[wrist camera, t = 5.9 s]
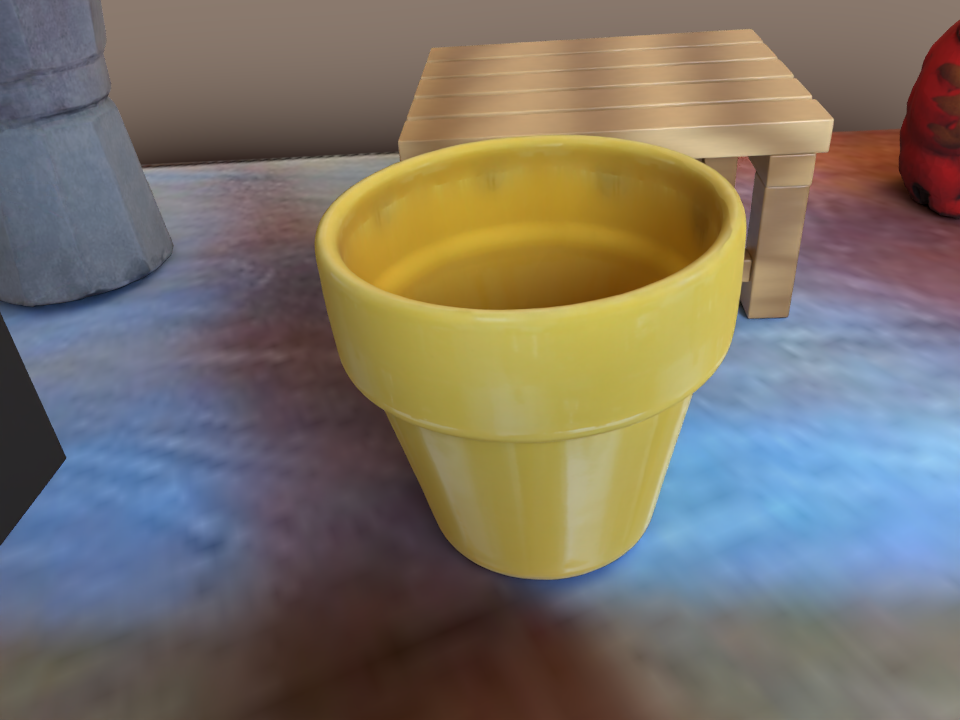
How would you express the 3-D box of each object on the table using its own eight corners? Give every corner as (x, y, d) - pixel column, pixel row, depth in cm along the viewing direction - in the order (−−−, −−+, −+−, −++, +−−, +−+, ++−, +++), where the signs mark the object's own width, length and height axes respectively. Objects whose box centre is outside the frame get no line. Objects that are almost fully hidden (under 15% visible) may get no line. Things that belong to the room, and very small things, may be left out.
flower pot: (342, 440, 29) (284, 168, 23) (617, 369, 31) (625, 107, 25) (419, 693, 20) (358, 365, 15) (786, 571, 23) (853, 248, 17)
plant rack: (734, 190, 43) (752, 28, 39) (799, 319, 33) (835, 118, 28) (446, 203, 44) (430, 47, 40) (422, 332, 34) (397, 141, 29)
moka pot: (227, 202, 46) (114, -239, 35) (107, 360, 34) (-131, -249, 22) (65, 208, 47) (-97, -221, 36) (-112, 364, 35) (-446, -219, 23)
